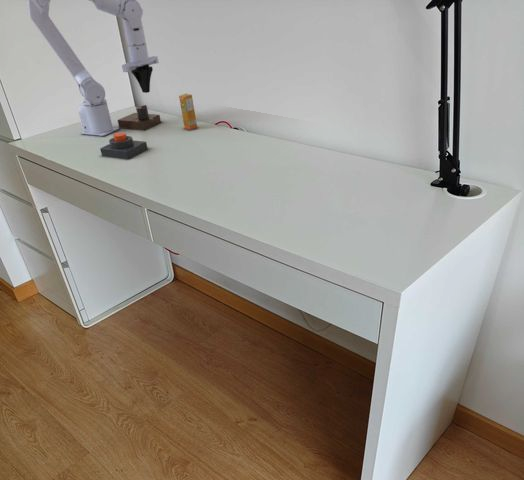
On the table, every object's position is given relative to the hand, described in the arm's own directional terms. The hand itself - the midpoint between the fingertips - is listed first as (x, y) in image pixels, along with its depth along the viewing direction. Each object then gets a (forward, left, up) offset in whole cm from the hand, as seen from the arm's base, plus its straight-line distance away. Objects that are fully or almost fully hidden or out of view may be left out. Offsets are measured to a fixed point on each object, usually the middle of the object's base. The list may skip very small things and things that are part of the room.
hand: (146, 92), depth 165 cm
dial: (+1, -5, -7) cm, 9 cm away
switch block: (+12, -29, -9) cm, 33 cm away
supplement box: (+18, -3, -10) cm, 21 cm away
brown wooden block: (-2, -4, -9) cm, 10 cm away
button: (+12, -29, -6) cm, 32 cm away
